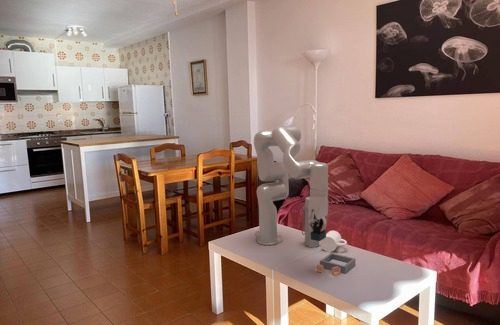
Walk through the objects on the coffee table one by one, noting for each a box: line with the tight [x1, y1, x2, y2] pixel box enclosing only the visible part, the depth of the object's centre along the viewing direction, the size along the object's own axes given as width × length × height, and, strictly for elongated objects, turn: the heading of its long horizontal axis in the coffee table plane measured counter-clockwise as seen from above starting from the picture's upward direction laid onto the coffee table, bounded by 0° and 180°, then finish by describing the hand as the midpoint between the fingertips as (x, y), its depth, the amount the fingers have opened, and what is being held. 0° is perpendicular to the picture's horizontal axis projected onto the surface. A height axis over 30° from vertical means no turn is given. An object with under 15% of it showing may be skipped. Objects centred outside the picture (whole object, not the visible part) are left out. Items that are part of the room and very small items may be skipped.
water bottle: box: [301, 196, 320, 248], centre depth 196 cm, size 9×8×25 cm
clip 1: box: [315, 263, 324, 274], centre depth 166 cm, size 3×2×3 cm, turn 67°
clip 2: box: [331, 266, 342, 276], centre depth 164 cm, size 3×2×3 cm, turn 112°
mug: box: [320, 230, 348, 253], centre depth 191 cm, size 12×10×8 cm
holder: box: [319, 252, 356, 274], centre depth 172 cm, size 12×11×3 cm
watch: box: [308, 217, 328, 242], centre depth 164 cm, size 6×8×11 cm
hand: (319, 233), depth 164 cm, fingers closed on watch, 3 cm apart
